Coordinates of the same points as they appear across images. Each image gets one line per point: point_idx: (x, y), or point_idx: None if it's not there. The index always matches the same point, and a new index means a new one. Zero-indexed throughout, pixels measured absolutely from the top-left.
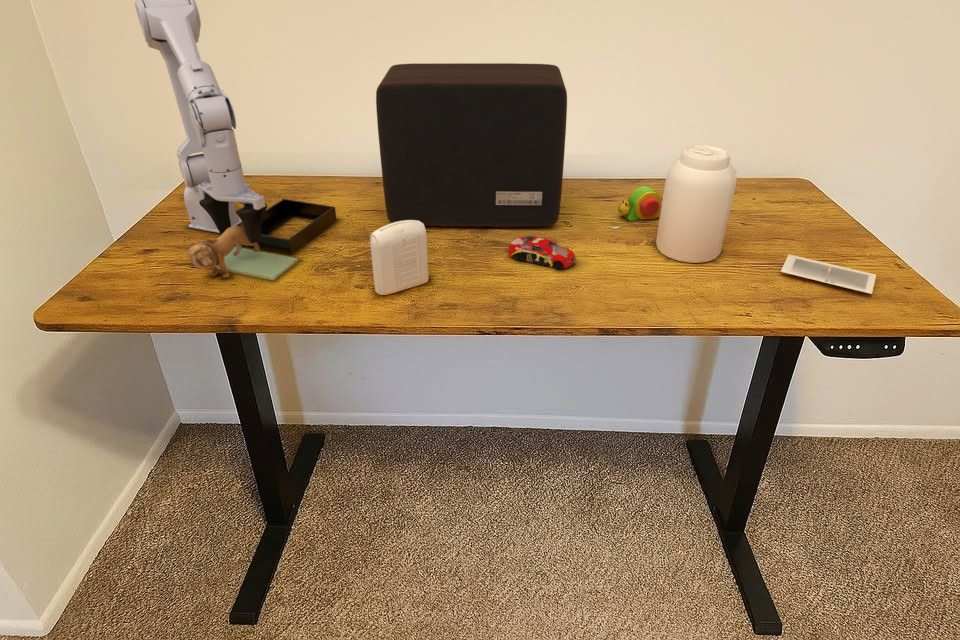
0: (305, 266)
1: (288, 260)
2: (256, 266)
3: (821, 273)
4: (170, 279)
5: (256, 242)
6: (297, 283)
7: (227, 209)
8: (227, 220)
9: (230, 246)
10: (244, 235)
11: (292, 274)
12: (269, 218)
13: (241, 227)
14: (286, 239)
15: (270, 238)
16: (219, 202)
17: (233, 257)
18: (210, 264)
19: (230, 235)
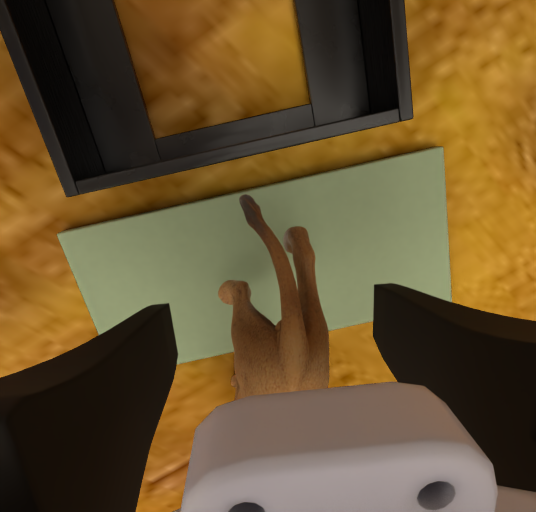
0: (487, 162)
1: (418, 180)
2: (341, 282)
3: None
4: (150, 455)
5: (313, 250)
6: (530, 267)
7: (115, 367)
8: (149, 343)
9: None
10: (328, 340)
11: (478, 233)
12: None
13: (305, 349)
14: (394, 116)
15: (295, 144)
16: (87, 498)
17: (206, 283)
18: None
19: None
